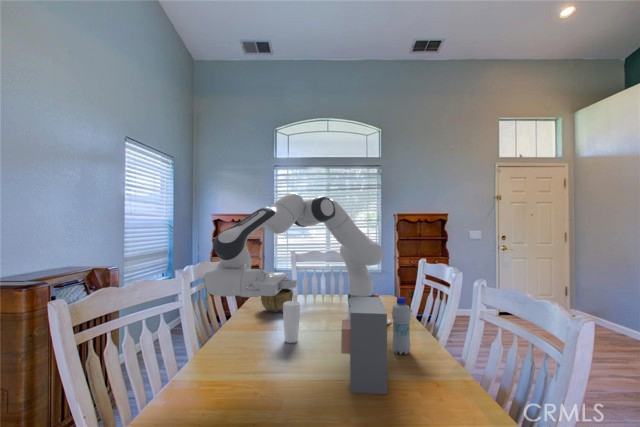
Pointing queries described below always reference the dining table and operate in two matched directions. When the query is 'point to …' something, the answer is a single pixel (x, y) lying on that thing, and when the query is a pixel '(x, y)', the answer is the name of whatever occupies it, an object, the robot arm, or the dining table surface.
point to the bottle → (401, 326)
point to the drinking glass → (291, 320)
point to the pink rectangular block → (345, 337)
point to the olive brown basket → (277, 300)
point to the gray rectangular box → (368, 345)
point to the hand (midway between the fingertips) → (296, 283)
